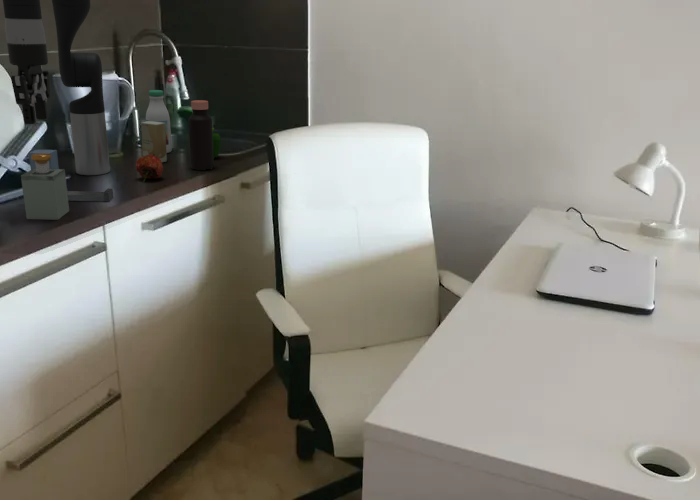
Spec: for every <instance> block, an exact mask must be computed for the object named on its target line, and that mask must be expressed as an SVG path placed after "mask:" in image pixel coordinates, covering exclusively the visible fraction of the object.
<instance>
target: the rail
mask: <svg viewBox="0 0 700 500" xmlns="http://www.w3.org/2000/svg"><path fill="white" fill-rule="evenodd" d="M67 195H68V202H103V201H109V202H111V201H112V200H113V199H114V188H107V189H105V190H104V191H84V190H83V191H79V190H74V191H73V190H67ZM110 200H111V201H110Z"/></svg>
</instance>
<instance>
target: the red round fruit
mask: <svg viewBox="0 0 700 500" xmlns="http://www.w3.org/2000/svg"><path fill="white" fill-rule="evenodd" d="M135 170H136V171H137V173H139V176H140V177H141V178H143V181H142V182H143V183H145V181H146V180H147V179H152V180H156V179H159V178H161V176H162V174H163V173H164V166H163V162H161V160H160V159H159V158H158V157H155V154H153V155H150V154H149V155H145V156H143V155H142V156H140V157H138V159H136V162H135Z"/></svg>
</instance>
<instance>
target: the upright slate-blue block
mask: <svg viewBox="0 0 700 500" xmlns="http://www.w3.org/2000/svg"><path fill="white" fill-rule="evenodd" d="M36 153H49V154H51V160H49V168H50V169H60V167H59V157H58V150H57V149H34V150H32V151H30V152H28V156H29V157H28V159H29V166H30V170H32V169H36V165H35V161H33V160H32V157H31V155H32V154H36Z"/></svg>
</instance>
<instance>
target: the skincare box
mask: <svg viewBox="0 0 700 500" xmlns="http://www.w3.org/2000/svg"><path fill="white" fill-rule="evenodd" d="M140 128H141V146H142V147H141V148H142V149H141V150H142V156H145V155H149V154H150V155H153V154H155V157H158V158H159V159H160V160H161V162H162V163H164V162H168V161H167V160H168V157H167V156H168V155H167V154H168V153H166V125H165V123H162V122H155V121H146V120H145V121H141V122H140Z"/></svg>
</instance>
